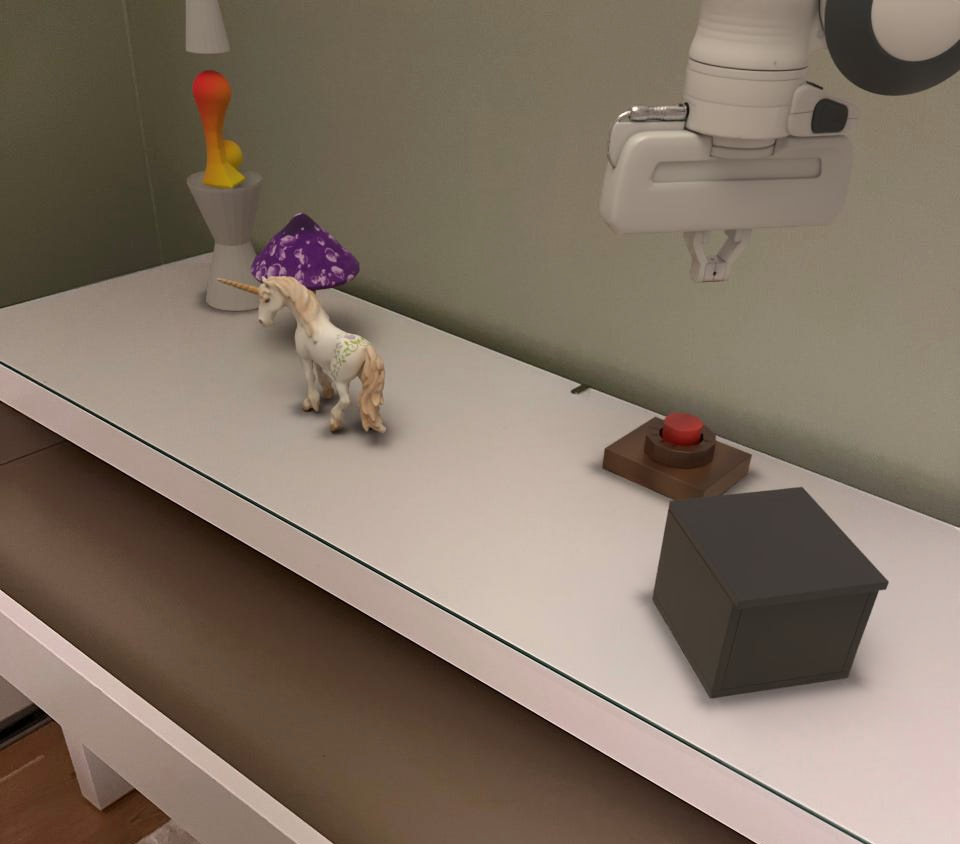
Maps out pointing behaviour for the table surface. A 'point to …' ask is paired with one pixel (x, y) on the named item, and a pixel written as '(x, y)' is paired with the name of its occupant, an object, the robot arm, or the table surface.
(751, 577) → the lid
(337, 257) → the decorative mushroom
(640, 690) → the table surface
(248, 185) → the lava lamp
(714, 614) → the dark grey cubic box
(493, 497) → the table surface
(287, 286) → the unicorn figurine
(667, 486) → the console
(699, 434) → the button
